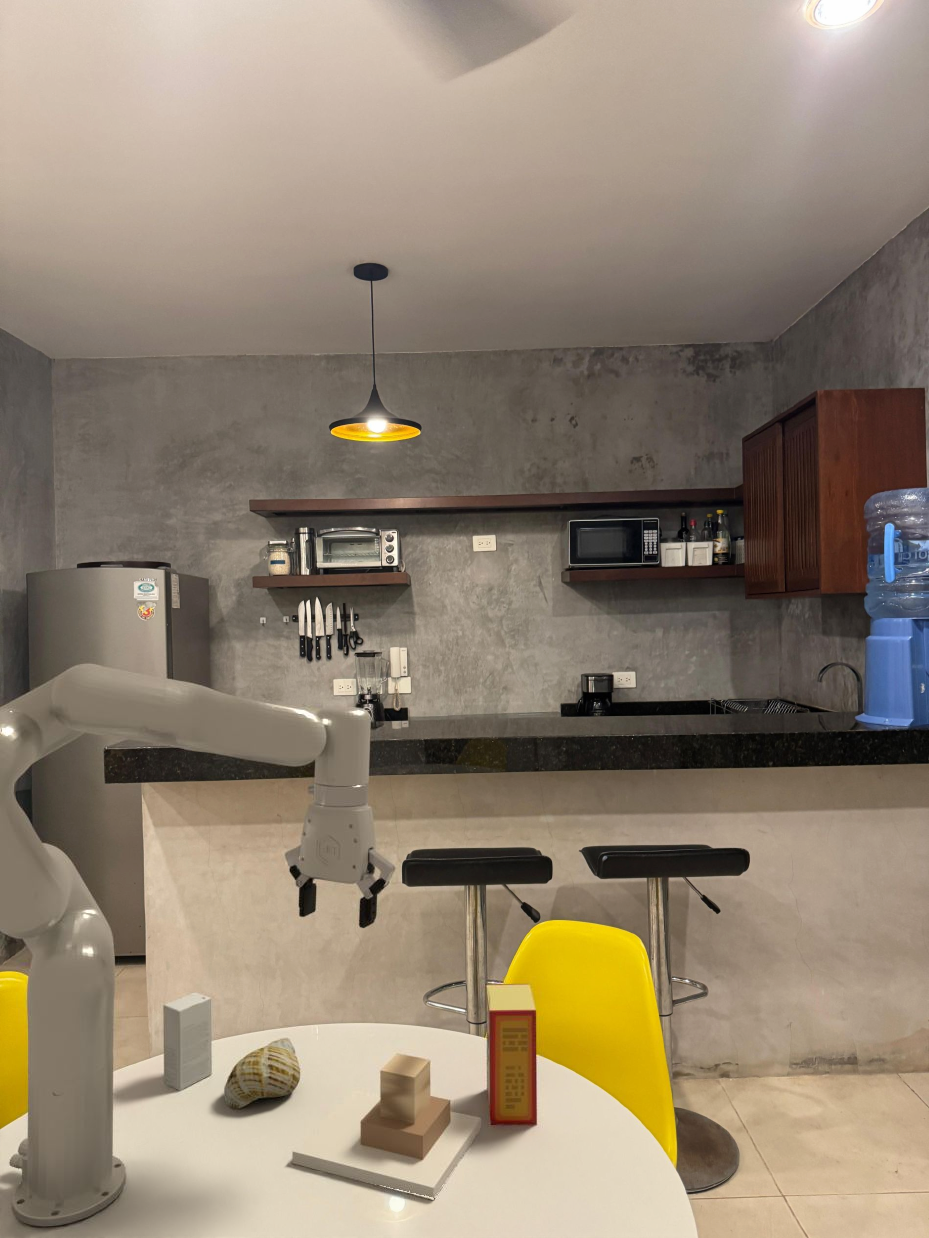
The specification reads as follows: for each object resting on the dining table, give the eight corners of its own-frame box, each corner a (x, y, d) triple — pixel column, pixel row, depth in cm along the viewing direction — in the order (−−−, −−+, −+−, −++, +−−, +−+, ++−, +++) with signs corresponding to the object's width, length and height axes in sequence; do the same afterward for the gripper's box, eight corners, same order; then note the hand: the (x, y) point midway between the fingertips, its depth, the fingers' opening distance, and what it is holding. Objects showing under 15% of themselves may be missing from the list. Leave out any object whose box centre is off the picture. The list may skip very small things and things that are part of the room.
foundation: (292, 1163, 109) (292, 1127, 109) (353, 1100, 123) (353, 1069, 123) (433, 1200, 101) (433, 1162, 101) (481, 1129, 116) (480, 1095, 116)
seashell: (207, 1103, 122) (227, 1027, 126) (248, 1105, 129) (265, 1034, 134) (263, 1116, 117) (281, 1037, 122) (302, 1118, 125) (318, 1043, 129)
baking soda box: (486, 1089, 126) (486, 981, 127) (530, 1088, 126) (529, 981, 127) (490, 1125, 117) (489, 1008, 117) (536, 1124, 117) (536, 1008, 117)
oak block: (380, 1116, 111) (380, 1070, 111) (397, 1097, 116) (397, 1053, 116) (414, 1124, 109) (414, 1077, 109) (430, 1104, 114) (430, 1059, 114)
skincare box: (195, 1067, 133) (195, 990, 134) (212, 1075, 131) (212, 997, 131) (161, 1083, 128) (162, 1004, 129) (178, 1092, 126) (179, 1011, 126)
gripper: (273, 793, 118) (269, 917, 117) (382, 805, 111) (377, 937, 110) (304, 786, 124) (300, 903, 124) (408, 797, 118) (404, 921, 117)
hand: (336, 919), depth 117 cm, fingers open, 9 cm apart
